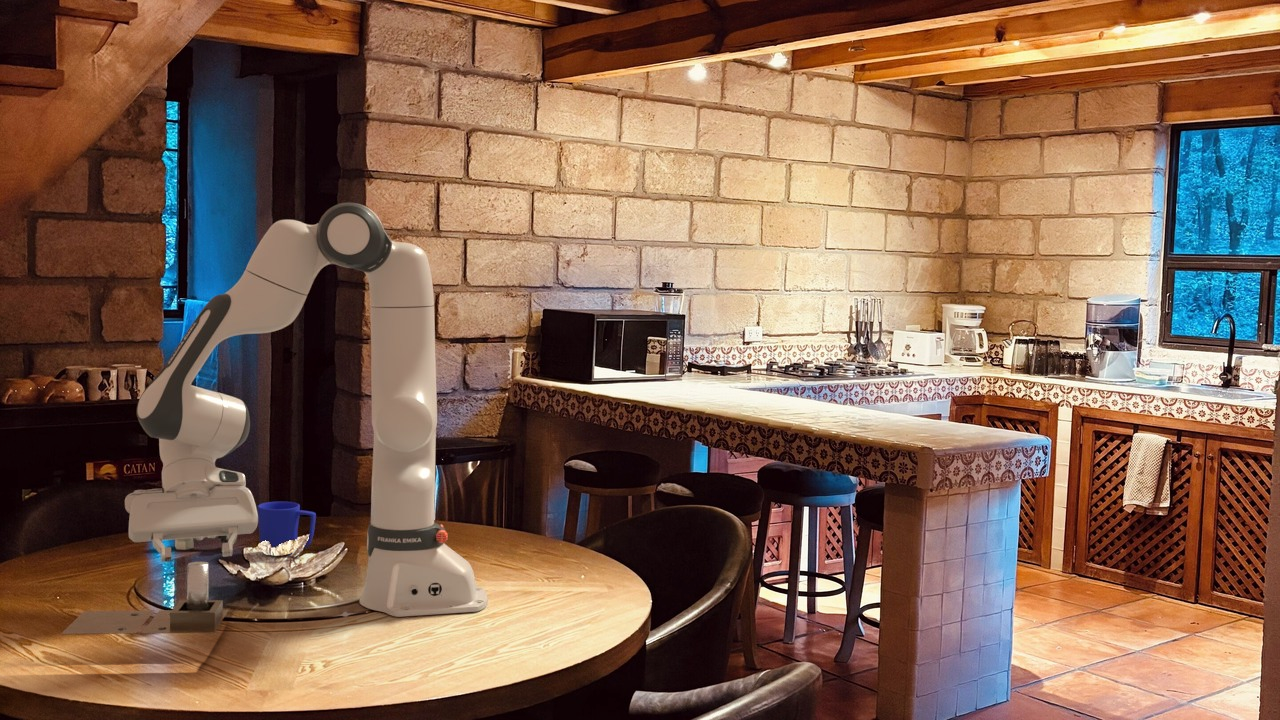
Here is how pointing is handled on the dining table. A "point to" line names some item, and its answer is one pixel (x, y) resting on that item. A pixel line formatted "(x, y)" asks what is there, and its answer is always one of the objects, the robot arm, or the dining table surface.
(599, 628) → the dining table surface
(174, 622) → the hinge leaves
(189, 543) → the valve
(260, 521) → the mug
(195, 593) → the pin
